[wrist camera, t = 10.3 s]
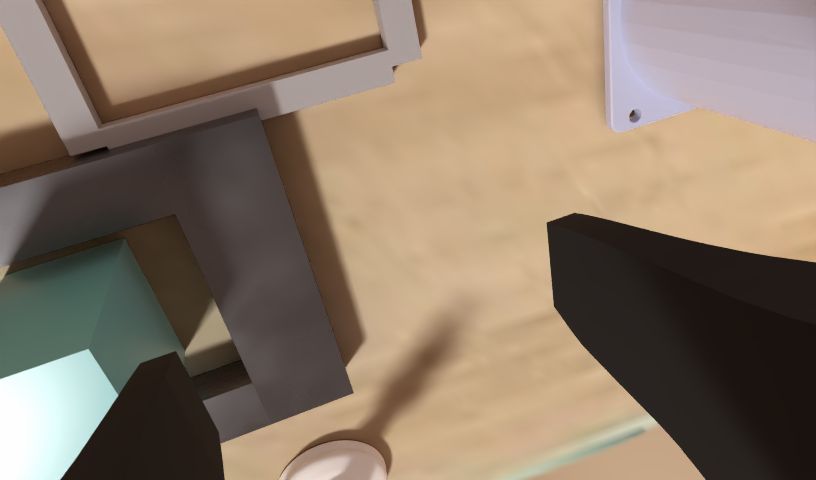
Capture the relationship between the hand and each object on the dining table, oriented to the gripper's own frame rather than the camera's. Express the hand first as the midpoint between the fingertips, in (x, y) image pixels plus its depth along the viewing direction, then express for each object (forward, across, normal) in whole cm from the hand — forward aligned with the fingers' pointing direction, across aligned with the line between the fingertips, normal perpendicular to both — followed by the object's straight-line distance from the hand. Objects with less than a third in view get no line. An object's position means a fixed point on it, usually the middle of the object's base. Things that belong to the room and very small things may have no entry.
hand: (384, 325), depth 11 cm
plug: (+10, +8, +3) cm, 13 cm away
